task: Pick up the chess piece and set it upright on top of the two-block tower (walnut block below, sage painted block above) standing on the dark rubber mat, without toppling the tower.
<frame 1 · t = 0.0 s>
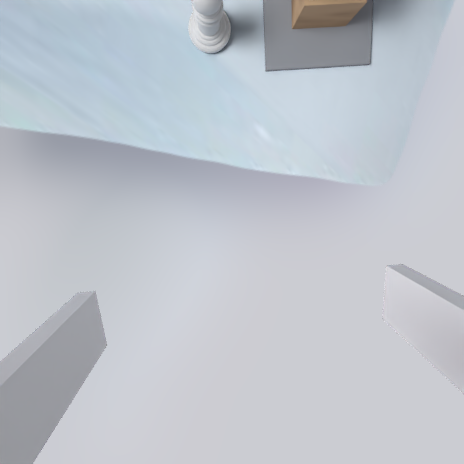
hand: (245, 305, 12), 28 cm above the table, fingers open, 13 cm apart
chess piece: (209, 31, 34), on the table
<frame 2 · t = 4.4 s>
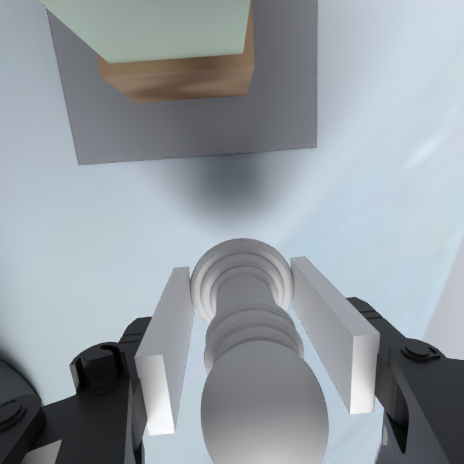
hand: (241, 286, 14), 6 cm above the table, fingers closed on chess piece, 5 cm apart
block bottom: (185, 36, 16), resting on mat, touching block top
chess piece: (240, 282, 14), point 5 cm above the table, touching gripper
mat: (186, 39, 16), on the table
when the fingers open (11 cm above the table, at t = 7.6 s): chess piece stays where it is, resting on block top.
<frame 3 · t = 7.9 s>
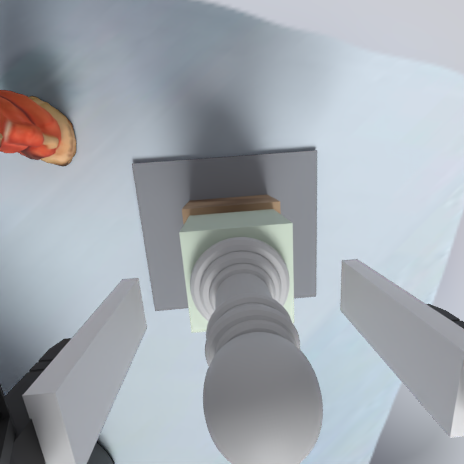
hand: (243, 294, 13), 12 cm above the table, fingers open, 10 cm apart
block bottom: (231, 235, 24), resting on mat, touching block top
chess piece: (239, 279, 15), point 10 cm above the table, touching block top
mat: (231, 234, 25), on the table
figurine: (44, 133, 22), on the table
block top: (234, 252, 19), point 5 cm above the table, touching block bottom, chess piece
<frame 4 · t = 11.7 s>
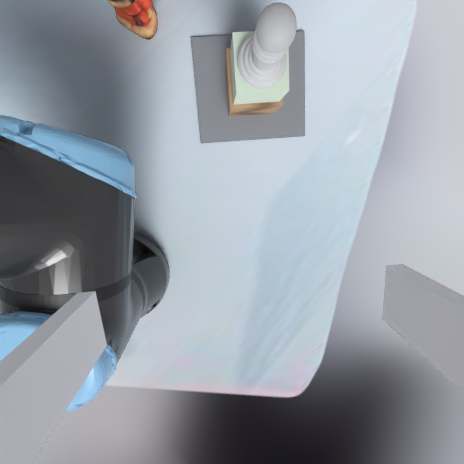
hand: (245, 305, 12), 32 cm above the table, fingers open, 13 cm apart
block bottom: (250, 89, 38), resting on mat, touching block top
chess piece: (261, 63, 29), point 10 cm above the table, touching block top
mat: (250, 89, 39), on the table
figurine: (138, 17, 36), on the table
block top: (255, 77, 33), point 5 cm above the table, touching block bottom, chess piece
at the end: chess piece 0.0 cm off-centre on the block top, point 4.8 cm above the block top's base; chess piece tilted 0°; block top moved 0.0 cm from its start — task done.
